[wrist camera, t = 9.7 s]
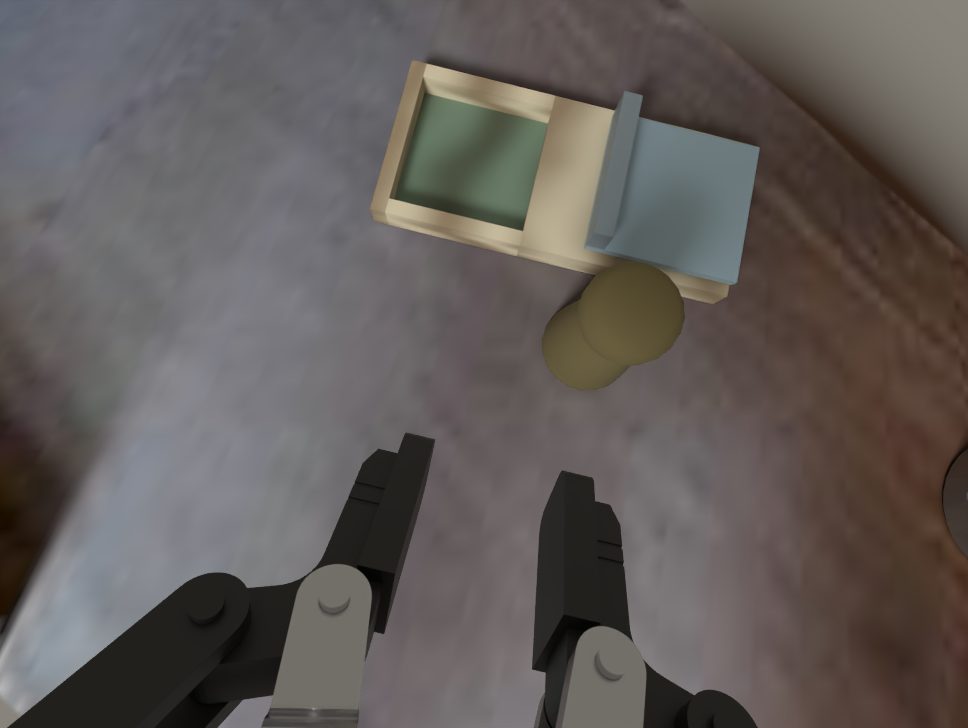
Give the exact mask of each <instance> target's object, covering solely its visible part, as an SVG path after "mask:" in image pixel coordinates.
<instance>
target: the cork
mask: <svg viewBox="0 0 968 728" xmlns="http://www.w3.org/2000/svg"><path fill="white" fill-rule="evenodd" d="M684 318H685V316H684V302H683V300H682V297H681V294H680V292H679V289H678V287H677V286H676V285H675V284H674V282H673V281H672V280H671V279H670V277H669V276H668V275H666V274H665V273H664V272H662V271H661V270H659V269H658V268H656V267H654V266H651V265H648V264H645V263H642V262H624V263H620V264H617V265H614V266H611V267H607V268H606V269H604V270H603V271H601V272H600V273H599V274H597V275H596V276H594V278H593V279H592V280H591V282H590V283H589V284H588V286H587V287H586V289H585V290H584V291H583V293H582V296H581V299H580V300H578V301H576V302H574V303H572V304H570V305H568V306H566V307H565V308H563V309H562V310H560V311H559V312H558V313H556V314H555V315H554V316H553V317H552V319H551V320H550V321H549V323H548V324H547V326H546V328H545V332H544V335H543V338H542V350H543V356H544V358H545V361H546V364H547V367H548V368H549V369H550V371H551V372H552V373H553V375H554V376H555V377H556V378H557V379H559V380H560V381H561V382H563V383H564V384H566V385H567V386H570V387H573V388H576V389H579V390H596V389H599V388H602V387H605V386H608V385H609V384H611V383H612V382H613V381H615V380H616V379H617V378H619V377H620V376H621V375H622V374H623V373H624V372H625V371H626V370H627V369H628V368H629V367H630V366H631V365H640V364H643V363H646V362H649V361H652V360H655V359H657V358H659V357H660V356H661V355H663V354H664V353H665V352H667V351H668V350H669V349H670V348H671V347H672V345H673V344H674V342H675V341H676V339H677V338H678V336H679V335H680V333H681V330H682V326H683V322H684Z"/></svg>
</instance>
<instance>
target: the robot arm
mask: <svg viewBox="0 0 968 728" xmlns="http://www.w3.org/2000/svg"><path fill="white" fill-rule="evenodd" d="M434 443H435V439H431V438H427V437H423V436H419V435H414V434H410V433H405V435H404V437H403V440H402V443H401V446H400V448H399V451H398V453H394V452H390V451H385V450H381V449H378V450H377V451H376V452H374V453H373V454H372V455H371V456H370V457H369V458H368V459H367V460H366V461H364V462H363V464H362V466H361V469H360V471H359V473H358V476H357V478H356V480H355V484H354V485H353V487H352V490H351V492H350V495H349V498H348V500H347V502H346V504H345V506H344V509H343V511H342V513H341V516H340V518H339V520H338V523H337V525H336V527H335V530H334V532H333V534H332V537H331V539H330V541H329V544H328V546H327V548H326V551H325V553H324V555H323V557H322V559H321V561H320V562H319V564H318V565H317V566H316V567H315V568H314V569H313V570H312V571H311V572H310V573H309V574H307V575H306V576H304V577H303V578H301V579H299V580H297V581H294V582H291V583H288V584H284V585H277V586H266V587H255V588H247V587H246V586H245V584H244V583H243V582H242V581H241V580H240V579H238V578H237V577H235V576H233V575H230V574H227V573H208V574H204V575H200V576H198V577H195V578H193V579H191V580H189V581H188V582H186V583H185V584H183V585H182V586H181V587H179V588H178V589H177V590H176V591H174V592H173V593H172V594H171V595H170V596H168V597H167V598H166V599H165V600H163V601H162V602H161V603H160V604H158V605H157V606H156V607H155V608H154V609H152V610H151V611H150V612H149V613H147V614H146V615H145V616H144V617H143V618H141V619H140V620H139V621H138V622H136V623H135V624H134V625H133V626H131V627H130V628H129V629H128V630H127V631H125V632H124V633H123V634H122V635H120V636H119V637H118V638H117V639H116V640H114V641H113V642H112V643H111V644H109V645H108V646H107V647H106V648H104V649H103V650H102V651H101V652H100V653H98V654H97V655H96V656H95V657H93V658H92V659H91V660H90V661H89V662H87V663H86V664H85V665H84V666H82V667H81V668H80V669H79V670H77V671H76V672H75V673H74V674H73V675H71V676H70V677H69V678H68V679H66V680H65V681H64V682H63V683H62V684H60V685H59V686H58V687H57V688H55V689H54V690H53V691H52V692H50V693H49V694H48V695H47V696H46V697H44V698H43V699H42V700H41V701H39V702H38V703H37V704H36V705H35V706H33V707H32V708H31V709H30V710H28V711H27V712H26V713H25V714H23V715H22V716H21V717H20V718H19V719H17V720H16V721H15V722H14V723H13V724H11V725H10V726H9V727H8V728H217V727H218V726H219V725H220V724H221V723H222V722H223V721H224V720H225V719H226V718H227V717H228V716H229V714H230V713H231V712H232V711H233V710H234V709H235V708H236V707H237V706H238V705H239V704H240V702H241V701H242V700H244V699H251V698H257V697H264V696H271V695H273V698H272V702H271V706H270V709H269V712H268V714H267V715H266V717H265V718H264V721H263V724H262V727H261V728H357V726H358V714H359V705H360V696H361V687H362V679H363V670H364V662H365V660H366V657H367V654H368V650H369V647H370V643H371V640H372V637H373V633H374V632H377V633H382V634H384V632H385V629H386V625H387V622H388V618H389V615H390V611H391V608H392V604H393V601H394V597H395V594H396V590H397V586H398V583H399V579H400V576H401V572H402V569H403V565H404V562H405V558H406V555H407V551H408V548H409V544H410V541H411V537H412V533H413V530H414V526H415V523H416V519H417V516H418V512H419V509H420V505H421V501H422V498H423V494H424V490H425V486H426V481H427V476H428V472H429V467H430V462H431V457H432V453H433V448H434ZM943 508H944V513H945V518H946V522H947V525H948V527H949V530H950V532H951V535H952V537H953V539H954V540H955V542H956V543H957V545H958V546H959V548H960V550H961V551H962V552H963V553H964V554H965V555H966V556H967V557H968V449H967V450H966V451H964V452H963V453H962V454H961V455H960V456H959V457H958V458H957V459H956V461H955V462H954V463H953V465H952V466H951V469H950V471H949V473H948V475H947V477H946V481H945V486H944V491H943ZM621 547H622V540H621V529H620V524H619V522H618V520H617V518H616V516H615V514H614V512H613V510H612V508H611V506H610V505H609V504H604V503H600V502H596V501H595V492H594V480H593V478H591V477H587V476H583V475H579V474H575V473H571V472H566V471H561V473H560V475H559V477H558V479H557V481H556V484H555V486H554V488H553V491H552V493H551V495H550V498H549V500H548V502H547V505H546V507H545V509H544V512H543V516H542V520H541V525H540V532H539V550H538V568H537V587H536V606H535V625H534V643H533V662H532V669H533V670H537V671H541V672H545V673H546V683H545V693H544V694H543V696H542V698H541V700H540V703H539V706H538V711H537V716H536V720H535V725H534V728H758V727H757V726H756V724H755V722H754V721H753V719H752V717H751V716H750V715H749V713H748V712H747V711H746V710H745V709H744V708H743V707H742V706H741V705H740V704H739V703H738V702H737V701H736V700H734V699H733V698H732V697H730V696H728V695H727V694H724V693H722V692H719V691H716V690H703V691H701V692H698V693H697V694H696V695H693V694H691V693H689V692H688V691H686V690H684V689H683V688H681V687H679V686H678V685H676V684H674V683H673V682H671V681H669V680H668V679H666V678H664V677H663V676H661V675H660V674H658V673H657V672H656V671H654V670H653V669H652V668H651V667H650V666H649V665H648V664H647V663H646V662H645V661H644V659H643V657H642V655H641V653H640V651H639V650H638V648H637V647H636V645H635V644H634V642H633V640H632V636H631V632H630V625H629V614H628V603H627V593H626V582H625V571H624V566H623V563H624V561H623V550H622V549H621Z"/></svg>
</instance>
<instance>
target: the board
mask: <svg viewBox="0 0 968 728" xmlns="http://www.w3.org/2000/svg"><path fill="white" fill-rule="evenodd" d="M614 112H615V111H614V110H610V109H606V108H602V107H598V106H594V105H590V104H586V103H582V102H578V101H574V100H570V99H566V98H562V97H558V96H554V95H550V94H546V93H542V92H538V91H534V90H530V89H526V88H522V87H518V86H514V85H510V84H506V83H502V82H498V81H494V80H490V79H486V78H482V77H478V76H474V75H470V74H466V73H462V72H458V71H454V70H450V69H446V68H442V67H438V66H434V65H430V64H426V63H422V62H418V61H414V60H412V63H411V67H410V70H409V74H408V77H407V81H406V84H405V88H404V91H403V95H402V98H401V102H400V105H399V109H398V112H397V116H396V119H395V123H394V126H393V130H392V133H391V137H390V140H389V144H388V147H387V151H386V155H385V158H384V162H383V165H382V169H381V172H380V176H379V179H378V183H377V186H376V190H375V193H374V197H373V200H372V204H371V207H370V210H371V213H372V215H373V218H374V221H376V222H380V223H384V224H388V225H392V226H396V227H400V228H404V229H408V230H412V231H416V232H420V233H425V234H429V235H433V236H437V237H441V238H445V239H449V240H453V241H457V242H461V243H465V244H469V245H474V246H478V247H482V248H486V249H490V250H494V251H498V252H502V253H506V254H510V255H514V256H519V257H523V258H527V259H531V260H535V261H539V262H543V263H547V264H551V265H555V266H559V267H563V268H568V269H572V270H576V271H580V272H584V273H588V274H592V275H597V274H599V273H600V272H601V271H603V270H604V269H606V268H607V267H611V266H614V265H617V264H620V263H624V262H636V261H632V260H628V259H623V258H619V257H615V256H611V255H607V254H603V253H599V252H595V251H591V250H587V249H584V244H585V239H586V235H587V230H588V226H589V221H590V216H591V212H592V207H593V203H594V198H595V193H596V189H597V184H598V180H599V175H600V170H601V166H602V161H603V157H604V152H605V147H606V143H607V138H608V133H609V129H610V124H611V120H612V116H613V114H614ZM640 118H642V117H640ZM644 119H646V118H644ZM648 120H650V119H648ZM652 121H654V120H652ZM656 122H658V121H656ZM660 123H662V122H660ZM664 124H666V123H664ZM668 125H670V124H668ZM672 126H674V125H672ZM676 127H678V126H676ZM680 128H682V127H680ZM684 129H686V128H684ZM688 130H690V129H688ZM692 131H694V130H692ZM696 132H698V131H696ZM700 133H702V132H700ZM704 134H706V133H704ZM708 135H710V134H708ZM712 136H714V135H712ZM716 137H718V136H716ZM720 138H722V137H720ZM724 139H726V138H724ZM728 140H730V139H728ZM732 141H734V140H732ZM736 142H738V141H736ZM740 143H742V142H740ZM744 144H746V143H744ZM748 145H750V144H748ZM752 146H753V145H752ZM651 266H652V265H651ZM654 267H656V266H654ZM656 268H658V269H659V270H661V271H662V272H664V273H665V274H666V275H668V276H669V277H670V279H671V280H672V281H673V282H674V284H675V285H676V286H677V287H678V289H679V292H680V294H681V296H682V297H686V298H690V299H694V300H698V301H702V302H706V303H710V304H714V303H716V302H718V301H720V300H721V299H723V298H725V297H727V295H728V289H729V284H725V283H721V282H717V281H713V280H709V279H705V278H701V277H697V276H693V275H689V274H685V273H680V272H676V271H672V270H668V269H664V268H660V267H656Z"/></svg>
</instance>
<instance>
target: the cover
mask: <svg viewBox="0 0 968 728" xmlns="http://www.w3.org/2000/svg"><path fill="white" fill-rule="evenodd" d="M642 98H643V95H639V94H635V93H631V92H627V91H624V93H623V95H622V97H621V99H620V101H619V103H618V106H617V108H616V110H615V112H614V114H613V116H612V120H611V124H610V129H609V133H608V138H607V143H606V147H605V152H604V157H603V161H602V166H601V170H600V175H599V180H598V184H597V189H596V193H595V198H594V203H593V207H592V212H591V216H590V221H589V226H588V230H587V235H586V239H585V244H584V249H587V250H591V251H595V252H599V253H603V254H607V255H611V256H615V257H619V258H623V259H628V260H632V261H636V262H642V263H645V264H648V265H652V266H656V267H660V268H664V269H668V270H672V271H676V272H680V273H685V274H689V275H693V276H697V277H701V278H705V279H709V280H713V281H717V282H721V283H725V284H729V285H733V284H735V283H737V279H738V273H739V268H740V262H741V256H742V250H743V244H744V238H745V232H746V226H747V220H748V214H749V208H750V202H751V196H752V191H753V185H754V179H755V173H756V167H757V161H758V155H759V149H760V147H756V146H752V145H748V144H744V143H740V142H736V141H732V140H728V139H724V138H720V137H716V136H712V135H708V134H704V133H700V132H696V131H692V130H688V129H684V128H680V127H676V126H672V125H668V124H664V123H660V122H656V121H652V120H648V119H644V118H640V117H639V113H640V108H641V103H642Z"/></svg>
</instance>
